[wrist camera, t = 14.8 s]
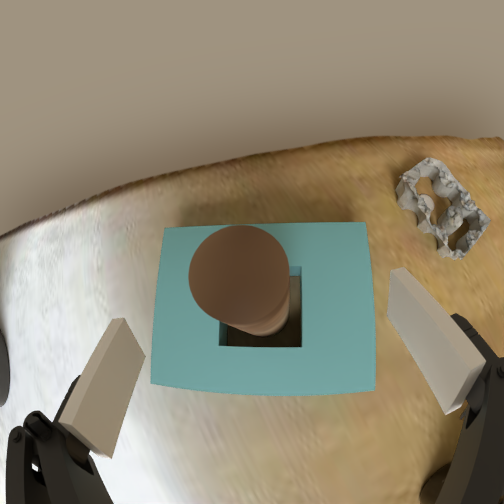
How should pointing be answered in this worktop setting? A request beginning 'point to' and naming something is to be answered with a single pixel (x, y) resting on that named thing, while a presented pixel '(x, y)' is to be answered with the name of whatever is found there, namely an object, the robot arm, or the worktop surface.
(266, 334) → the walnut pin
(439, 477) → the supplement bottle
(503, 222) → the worktop surface
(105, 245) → the worktop surface
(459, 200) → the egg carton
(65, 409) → the robot arm
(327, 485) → the worktop surface
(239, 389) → the teal square-hole block
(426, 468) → the worktop surface
